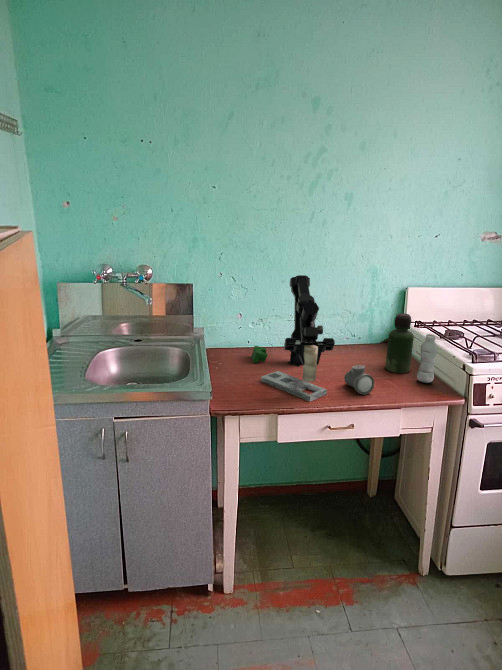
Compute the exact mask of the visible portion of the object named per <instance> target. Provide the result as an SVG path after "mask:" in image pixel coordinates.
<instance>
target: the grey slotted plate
mask: <svg viewBox="0 0 502 670" xmlns="http://www.w3.org/2000/svg"><path fill="white" fill-rule="evenodd" d="M260 382H261V383H264V384H267V385H269V386H272V387H274V388H276V389H279V390H281V391H284V392H286V393H289V394H291V395H293V396H296V397H298V398H301V399H302V400H305V401H307V402H312V401H315V400H317V399H320V398H321V397H324V396H327V395H328V389H326V388H324V387H321V386H319V385H316V384H313V383H312V382H306V381H304V380H303V379H301V378H297V377H295V376H292V375H290V374H287V373H285V372H282V371H279V370H277V371H274V372H271V373H268V374H264V375H262V376H260ZM305 390H309V391H311V392H312V393H307V392H304V391H305Z"/></svg>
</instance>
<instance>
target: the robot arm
mask: <svg viewBox="0 0 502 670" xmlns="http://www.w3.org/2000/svg"><path fill="white" fill-rule="evenodd" d="M310 282H311V278H310V277H309V275H308V276H307V275H306V274H305V275H296V276H292V277H290V279H289V288H291V289H290V292H291V293H292V295H293V297H294V320H293V321H294V329H293V331H292V332H291V334H290V337H286V338H285V339H284V344H283V347H284V349H283V350H284V351H289V353H290V355H289V356H290V357H289V360H288V361H287V364H290V365H293V366H296V367H301V366H303V365H304V346H306V345H315V346H317V347H318V354H317V366H319V364H320V359H321V355H322V353H324V352H325V351H327V352H328V351H333V350H334V347H335V345H336V342H335V339H334V338H333V337H324V338H323V339H322V341H321V340H320V341H319V340H318V338H319V335H323V334H324V326H323V325H317V326H316V322H315V321H316V319H317V316H318V313H319V311H320V307H319V305H318V304H317V302H316V300H315V297H314V296H312V295H311V294H310V286H311V283H310Z"/></svg>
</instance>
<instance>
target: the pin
mask: <svg viewBox="0 0 502 670" xmlns="http://www.w3.org/2000/svg"><path fill="white" fill-rule="evenodd" d="M317 354H318V347H317V346H315V345H306V346H304V365H302V366H303V367H302V380H303V381H306V382H308V383H314V382H316V380H317V366H318V365H317Z"/></svg>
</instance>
